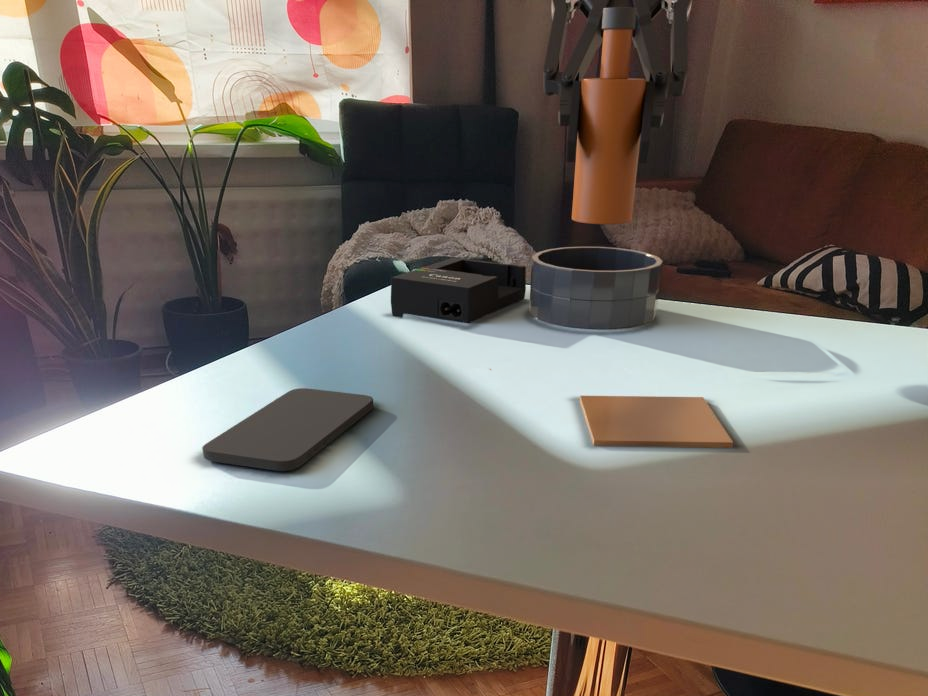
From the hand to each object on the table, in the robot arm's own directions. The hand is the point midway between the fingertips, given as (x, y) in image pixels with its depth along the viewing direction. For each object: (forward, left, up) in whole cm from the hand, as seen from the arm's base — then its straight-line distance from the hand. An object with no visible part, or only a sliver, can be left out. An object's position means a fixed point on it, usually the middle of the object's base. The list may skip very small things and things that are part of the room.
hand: (607, 151), depth 83 cm
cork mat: (-1, +28, -16) cm, 33 cm away
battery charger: (+14, -7, -16) cm, 22 cm away
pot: (0, -4, -16) cm, 16 cm away
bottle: (0, -4, -6) cm, 7 cm away
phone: (+26, +31, -16) cm, 44 cm away
